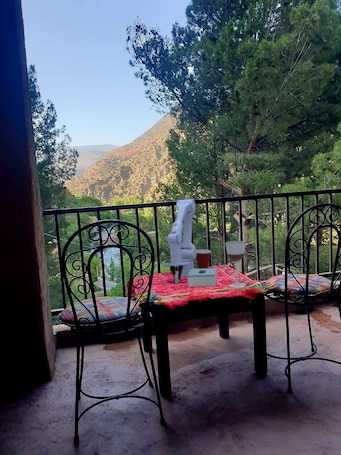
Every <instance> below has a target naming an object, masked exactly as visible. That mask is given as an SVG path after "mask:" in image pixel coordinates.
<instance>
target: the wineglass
mask: <svg viewBox="0 0 341 455" xmlns="http://www.w3.org/2000/svg"><path fill="white" fill-rule="evenodd" d="M225 249H226V255H227V257H228V258H229V259H230V260H231V261H234V263H235V278H236V282H235V283H231V284H229V285H228V286H229V287H231V288H233V289H235V288H245V287H246V286H245V285H246V284H245V283H243V282H242V283H241V282H239V272H238V262H239V261H241V260H242V259H243V258H244V256H245V251H246V242H245V241H244V240H231V241H226V242H225ZM244 286H245V287H244Z"/></svg>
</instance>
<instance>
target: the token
mask: <svg viewBox="0 0 341 455" xmlns="http://www.w3.org/2000/svg"><path fill="white" fill-rule="evenodd" d="M174 282H175V283H174V284H180V282H181V279H180V280H179V273H178V271H176V273H175V280H174Z"/></svg>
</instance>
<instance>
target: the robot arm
mask: <svg viewBox="0 0 341 455" xmlns="http://www.w3.org/2000/svg"><path fill="white" fill-rule="evenodd" d="M175 205H176V210H177V214H176V218H175V219H176V220H175V221H174V222H173V223H172V227H171V231H170V233H169V234H168V235H167V239H166V241H167V243H168V247H169V254H170V262H163V263H162V267H163V268H169V271H170V273H171V274H172V276H173V280H174V281H175V273H176V272H178V273H179V280H180V281H181V279H182V277H188V276H187V275H188V273H189V271H190V269H195V261H194V260H196V250H197V249H196V248H197V247H196V246H195V245H194V244H193V243H192V235H193V215H195V213H196V202H195V200H194V198H191V199H189V198H188V199H177V201H176V204H175ZM182 232H183V234H182ZM182 236H183V237H182ZM176 268H177V271H176Z"/></svg>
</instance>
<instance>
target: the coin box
mask: <svg viewBox="0 0 341 455" xmlns="http://www.w3.org/2000/svg"><path fill="white" fill-rule="evenodd" d="M217 276H218V275H217V268H216V267H214V268H213V267H212V268H210V267H208V268H207V269H198V268H194V269H190V271H189V273H188V275H187V276H186V277H187V287H188V288H193V287H195V288H196V287H216V285H217V281H218V280H217V279H218V277H217Z"/></svg>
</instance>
